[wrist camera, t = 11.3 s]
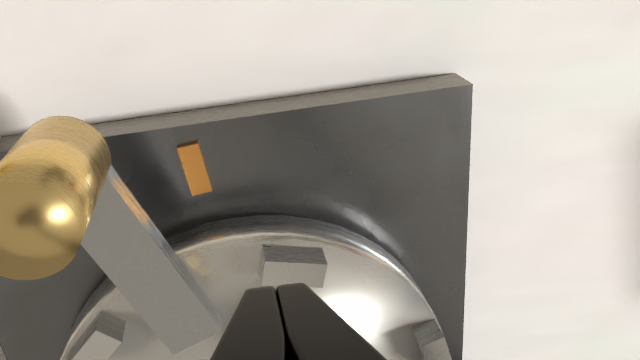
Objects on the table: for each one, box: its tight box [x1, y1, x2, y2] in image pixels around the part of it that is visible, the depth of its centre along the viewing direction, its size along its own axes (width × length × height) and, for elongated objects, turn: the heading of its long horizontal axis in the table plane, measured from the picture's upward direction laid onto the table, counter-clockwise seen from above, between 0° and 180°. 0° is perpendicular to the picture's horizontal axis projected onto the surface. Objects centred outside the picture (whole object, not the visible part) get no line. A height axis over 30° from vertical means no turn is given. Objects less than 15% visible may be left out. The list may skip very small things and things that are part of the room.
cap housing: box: [0, 73, 473, 360], centre depth 23 cm, size 22×18×2 cm
